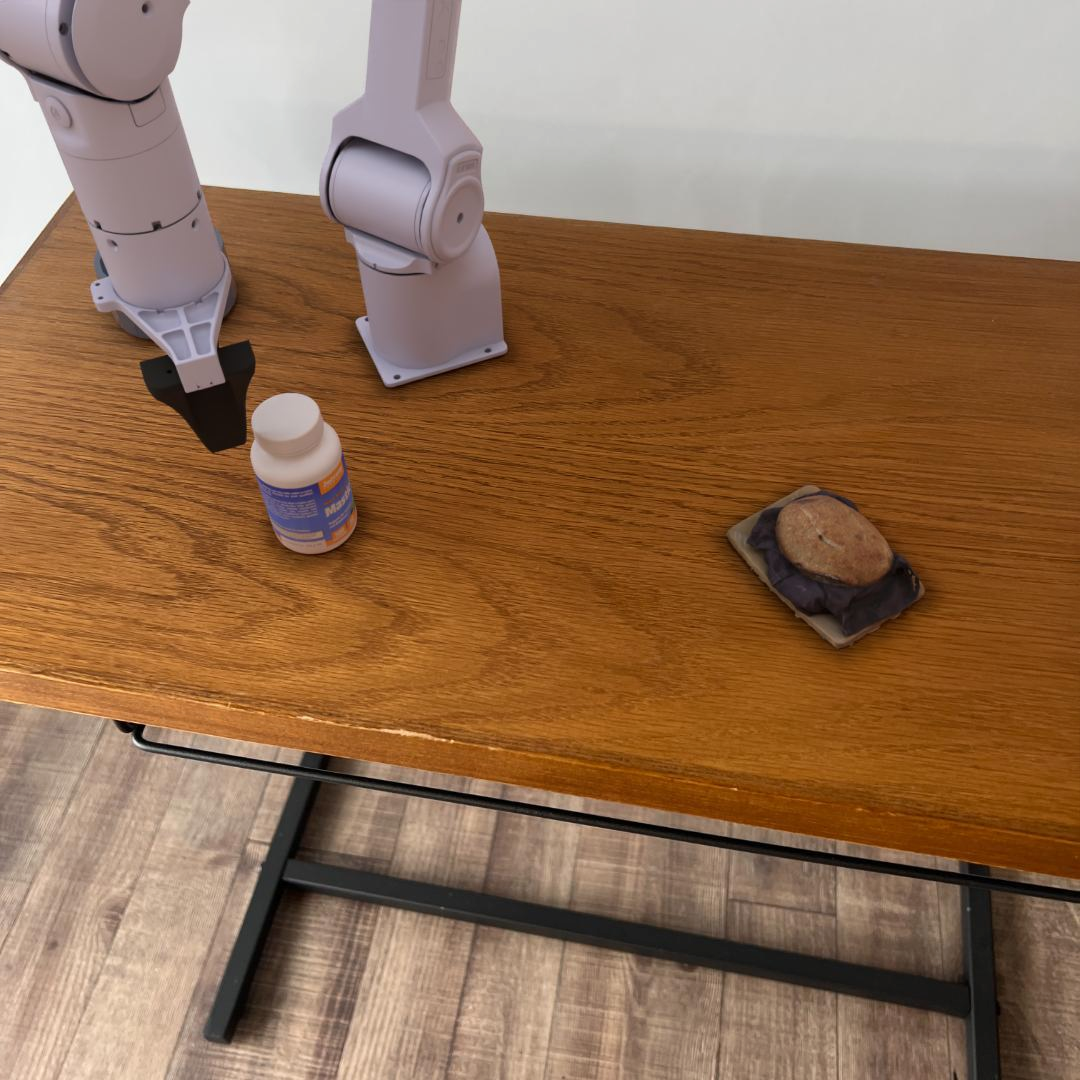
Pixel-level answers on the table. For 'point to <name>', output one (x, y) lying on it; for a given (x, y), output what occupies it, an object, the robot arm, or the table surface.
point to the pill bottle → (302, 474)
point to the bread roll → (827, 564)
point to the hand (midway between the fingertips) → (214, 401)
